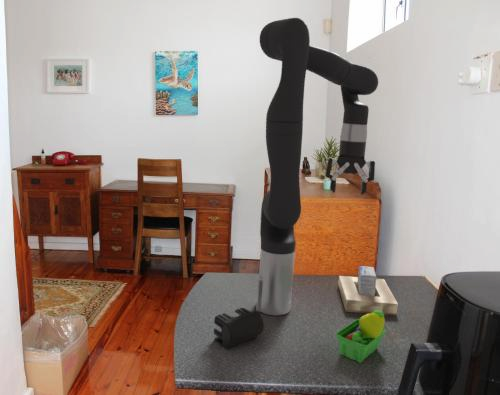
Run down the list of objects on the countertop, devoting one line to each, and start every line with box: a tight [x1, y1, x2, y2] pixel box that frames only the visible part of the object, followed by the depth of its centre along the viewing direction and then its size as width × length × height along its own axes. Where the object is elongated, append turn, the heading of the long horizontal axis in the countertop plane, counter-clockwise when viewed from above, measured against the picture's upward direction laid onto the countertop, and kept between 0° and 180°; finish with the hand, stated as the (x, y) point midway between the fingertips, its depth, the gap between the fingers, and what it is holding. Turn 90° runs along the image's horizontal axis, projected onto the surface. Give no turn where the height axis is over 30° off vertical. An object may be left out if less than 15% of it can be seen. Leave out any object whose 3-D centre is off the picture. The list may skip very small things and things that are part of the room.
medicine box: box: [357, 265, 377, 296], centre depth 134 cm, size 8×4×9 cm, turn 171°
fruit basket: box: [335, 310, 387, 363], centre depth 105 cm, size 11×9×11 cm
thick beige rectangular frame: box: [337, 275, 399, 317], centre depth 135 cm, size 14×18×4 cm
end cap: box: [213, 307, 265, 349], centre depth 107 cm, size 10×7×7 cm
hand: (347, 193), depth 138 cm, fingers open, 8 cm apart
